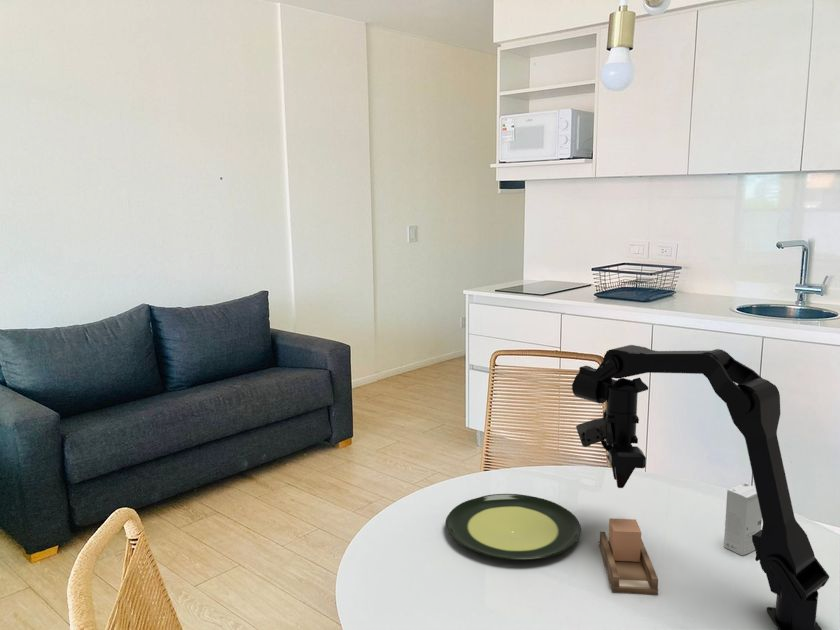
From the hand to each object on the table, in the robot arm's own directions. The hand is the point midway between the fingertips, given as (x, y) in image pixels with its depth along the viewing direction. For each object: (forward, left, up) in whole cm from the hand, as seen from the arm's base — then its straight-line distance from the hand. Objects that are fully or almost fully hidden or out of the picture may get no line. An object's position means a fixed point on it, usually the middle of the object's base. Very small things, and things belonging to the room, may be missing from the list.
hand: (618, 483), depth 132 cm
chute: (-11, 0, -12) cm, 16 cm away
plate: (+1, +21, -13) cm, 25 cm away
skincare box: (-1, -24, -12) cm, 27 cm away
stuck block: (-8, 0, -11) cm, 13 cm away
